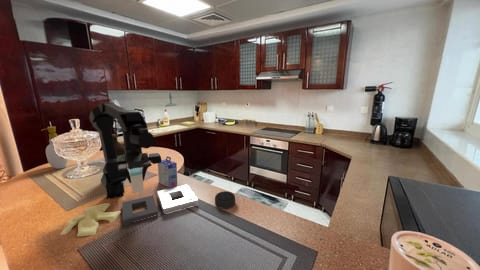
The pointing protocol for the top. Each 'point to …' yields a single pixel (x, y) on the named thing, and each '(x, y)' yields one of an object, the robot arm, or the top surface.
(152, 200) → the dark grey flat frame
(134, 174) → the plug
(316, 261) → the top surface
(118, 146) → the olive oil
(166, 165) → the ink cartridge box
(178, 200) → the block
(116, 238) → the top surface
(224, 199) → the smart speaker
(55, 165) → the soap bottle
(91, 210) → the cloth
